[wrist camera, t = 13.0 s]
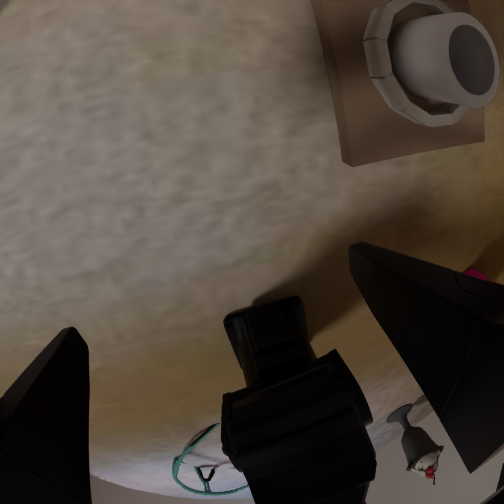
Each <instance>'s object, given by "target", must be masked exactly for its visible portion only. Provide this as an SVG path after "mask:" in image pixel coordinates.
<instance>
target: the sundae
mask: <svg viewBox="0 0 504 504" xmlns="http://www.w3.org/2000/svg"><path fill="white" fill-rule="evenodd" d="M411 409H412V405H410V404H408V405H404V406H402V407H400V408H398V409H397V410H395V411H394V412H393V413H392V414H390V415H389V417H388V418H387V422H388V423H393V422H396V421H398V422H399V423H400V424H401V425H402V426H403V428H404V430H405V431H404V434H403V436H402V440H401V443H402V446H403V449H404V452H405V455H406V457H407V462H408V467H407V469H406V470H407V471H415V472H418V473H419V474H420V475H421V476H426V477H427V478H428V479H429V478H433V475H434V472H435V471H436V470H437V467H438V458H439V455H440V453H441V452H442V450H443V448H444V446H438V445H436V443H435V442H433V440H432V439H431V438H430V437H429V435H428V434H427V433H426V432H425V431H424V430H423V429H422V428H420V427H413V426H411V425H410V423H409V422H408V419H407V414H408V413H409V412H410V411H411ZM433 479H434V482H433V485H435V475H434V478H433Z"/></svg>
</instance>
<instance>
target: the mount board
mask: <svg viewBox="0 0 504 504" xmlns="http://www.w3.org/2000/svg"><path fill="white" fill-rule="evenodd" d="M311 3H312V7H313V10H314V14H315V18H316V22H317V26H318V30H319V34H320V39H321V43H322V47H323V52H324V57H325V61H326V66H327V71H328V76H329V81H330V86H331V91H332V97H333V103H334V108H335V114H336V120H337V127H338V133H339V140H340V147H341V155H342V162H344V163H346V164H348V165H349V166H351V167H355V166H360V165H364V164H369V163H373V162H378V161H382V160H387V159H392V158H396V157H401V156H406V155H411V154H416V153H421V152H426V151H432V150H437V149H442V148H448V147H454V146H459V145H465V144H471V143H477V142H483V141H485V125H484V107H481V108H473V107H469V106H464V105H459V104H454V103H449V102H443V101H438V100H432V99H425V98H420V97H417V96H414V95H412V94H411V93H409V92H408V91H407V90H405V89H404V88H403V87H402V85H401V84H400V83H399V82H398V80H397V79H396V77H395V75H394V73H393V71H392V67H391V61H390V56H389V50H388V40H389V36H390V34H391V32H392V30H393V28H394V27H395V26H396V25H397V24H398V23H399V22H401V21H403V20H407V19H412V18H418V17H424V16H431V15H438V14H446V13H455V12H462V13H466V14H469V15H471V13H470V9H469V5H468V1H467V0H311Z"/></svg>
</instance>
